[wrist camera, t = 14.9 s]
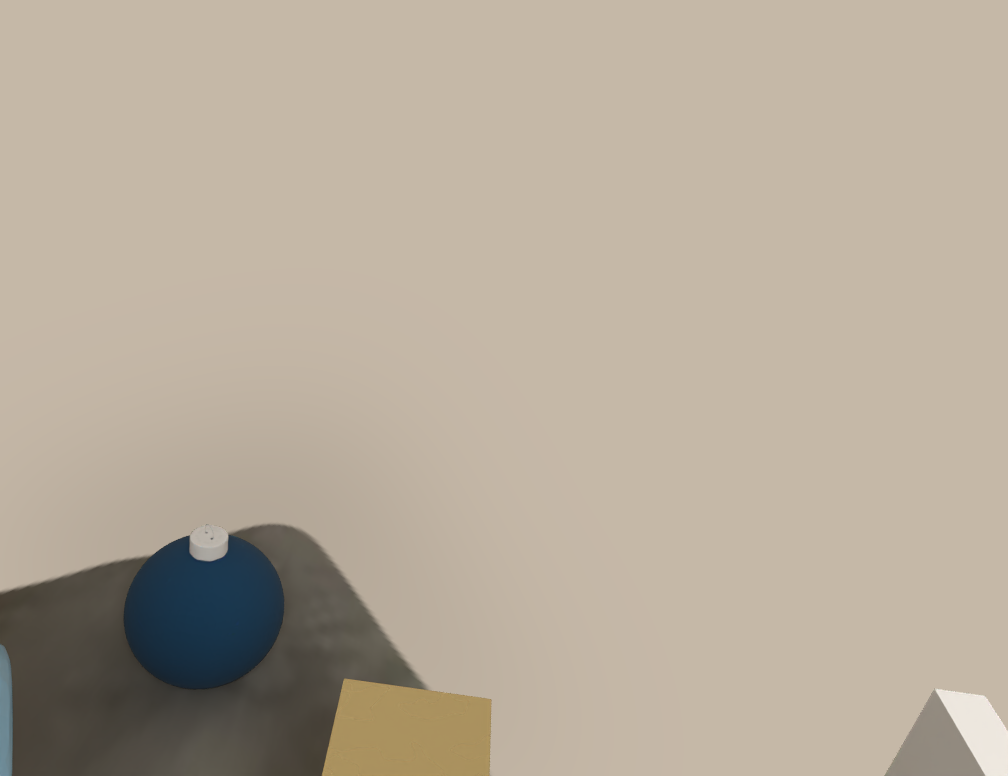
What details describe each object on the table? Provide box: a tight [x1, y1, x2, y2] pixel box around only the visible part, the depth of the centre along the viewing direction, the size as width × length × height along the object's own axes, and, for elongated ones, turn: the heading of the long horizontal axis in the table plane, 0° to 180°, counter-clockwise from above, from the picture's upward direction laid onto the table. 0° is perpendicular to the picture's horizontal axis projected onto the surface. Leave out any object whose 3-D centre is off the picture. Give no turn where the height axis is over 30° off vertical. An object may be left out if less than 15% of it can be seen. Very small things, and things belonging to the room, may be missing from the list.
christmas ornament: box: [124, 525, 284, 689], centre depth 47 cm, size 8×8×10 cm
